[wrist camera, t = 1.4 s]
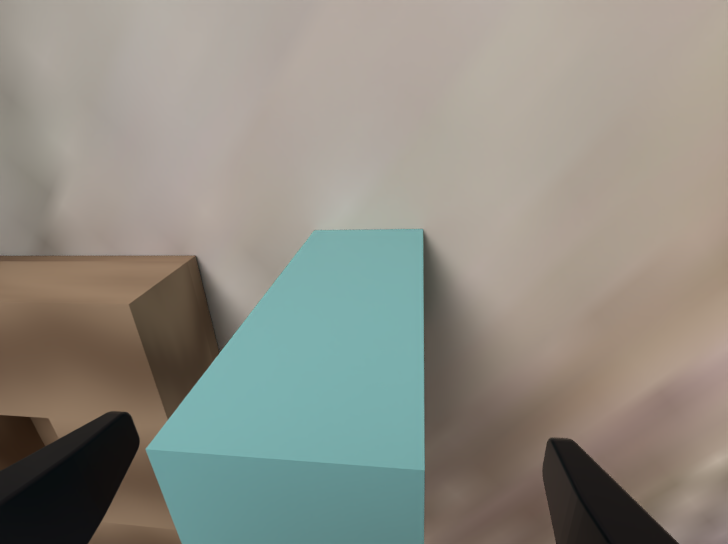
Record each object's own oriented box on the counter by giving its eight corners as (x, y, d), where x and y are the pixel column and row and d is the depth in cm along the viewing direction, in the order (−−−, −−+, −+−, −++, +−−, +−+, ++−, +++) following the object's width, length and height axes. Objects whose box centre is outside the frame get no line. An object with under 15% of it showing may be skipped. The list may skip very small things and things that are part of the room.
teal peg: (422, 324, 16) (422, 634, 7) (324, 322, 16) (205, 606, 7) (422, 229, 14) (424, 469, 5) (314, 230, 15) (145, 449, 6)
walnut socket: (260, 518, 22) (229, 600, 19) (15, 494, 25) (-54, 563, 21) (195, 255, 16) (128, 304, 12) (-130, 256, 18) (-267, 297, 15)
